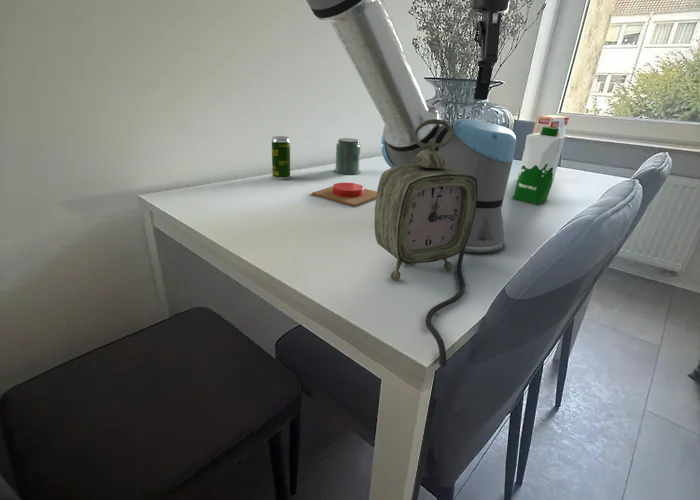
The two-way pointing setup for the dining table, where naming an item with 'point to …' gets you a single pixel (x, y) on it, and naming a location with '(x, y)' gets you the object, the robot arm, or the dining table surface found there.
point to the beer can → (281, 157)
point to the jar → (347, 156)
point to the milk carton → (538, 165)
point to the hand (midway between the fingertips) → (473, 98)
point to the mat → (351, 201)
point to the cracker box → (551, 123)
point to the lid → (348, 189)
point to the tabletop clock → (425, 207)
